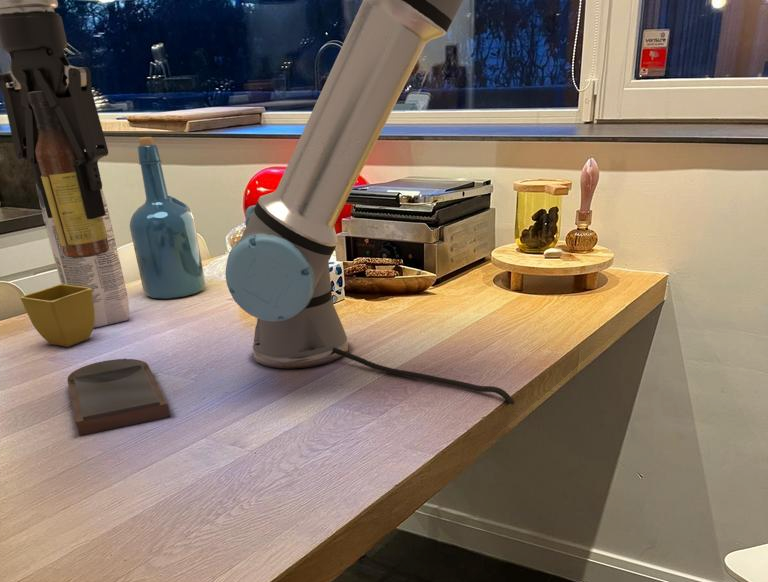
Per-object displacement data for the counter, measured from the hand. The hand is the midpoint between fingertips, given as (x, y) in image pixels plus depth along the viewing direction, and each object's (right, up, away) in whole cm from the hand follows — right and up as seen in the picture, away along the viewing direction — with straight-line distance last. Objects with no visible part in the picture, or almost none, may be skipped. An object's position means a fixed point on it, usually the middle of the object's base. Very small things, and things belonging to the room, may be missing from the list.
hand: (76, 216), depth 104 cm
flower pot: (-15, -9, +36) cm, 40 cm away
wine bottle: (-3, +7, +63) cm, 63 cm away
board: (+2, -23, +10) cm, 25 cm away
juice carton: (-13, -3, +46) cm, 48 cm away
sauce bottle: (0, -4, +3) cm, 5 cm away
